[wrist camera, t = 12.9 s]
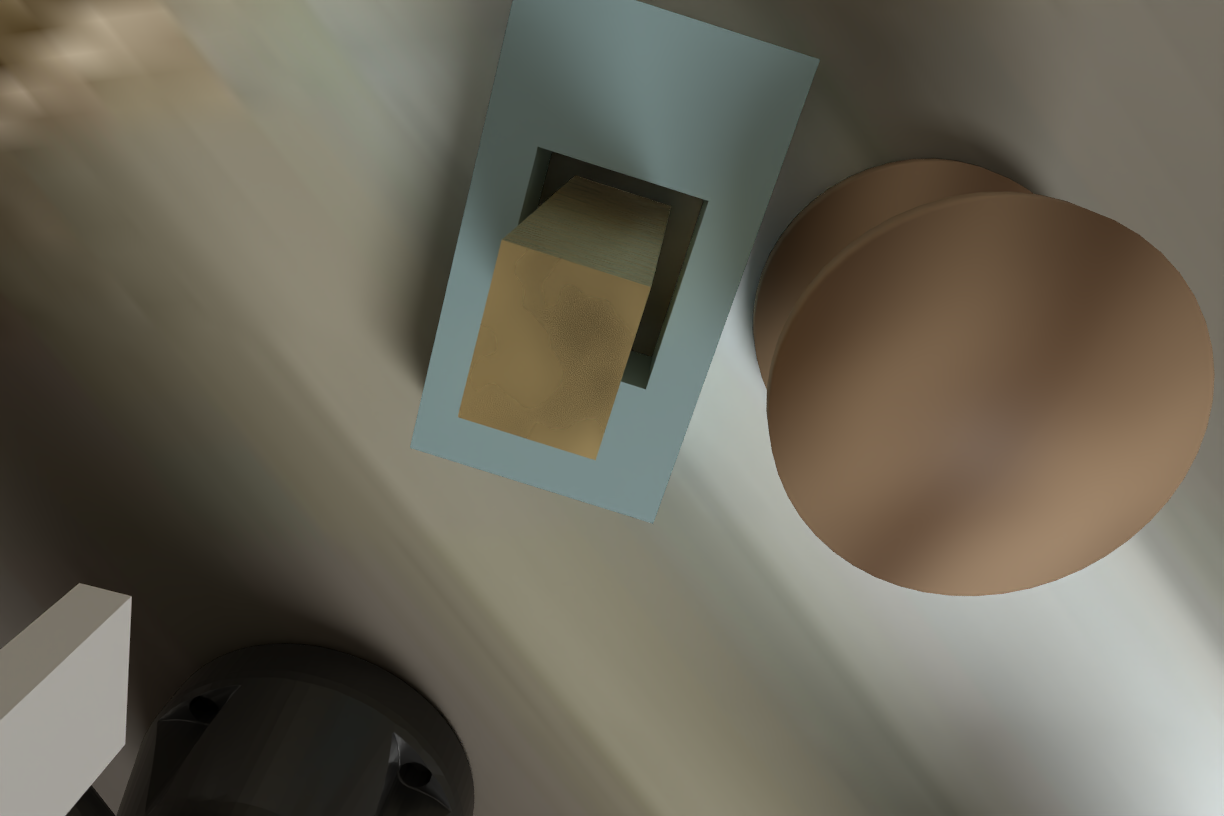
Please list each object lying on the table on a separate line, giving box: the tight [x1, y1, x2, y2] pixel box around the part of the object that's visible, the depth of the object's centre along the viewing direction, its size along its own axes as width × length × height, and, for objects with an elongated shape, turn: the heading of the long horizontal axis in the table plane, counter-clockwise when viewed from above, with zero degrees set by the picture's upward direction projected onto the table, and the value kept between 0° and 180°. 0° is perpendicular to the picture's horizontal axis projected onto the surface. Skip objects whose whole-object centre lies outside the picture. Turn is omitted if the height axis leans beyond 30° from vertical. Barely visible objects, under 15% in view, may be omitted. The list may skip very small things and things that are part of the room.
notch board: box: [410, 0, 820, 523], centre depth 30 cm, size 16×9×4 cm, turn 164°
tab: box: [458, 175, 671, 460], centre depth 26 cm, size 4×4×12 cm
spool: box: [753, 158, 1214, 596], centre depth 27 cm, size 11×11×9 cm
